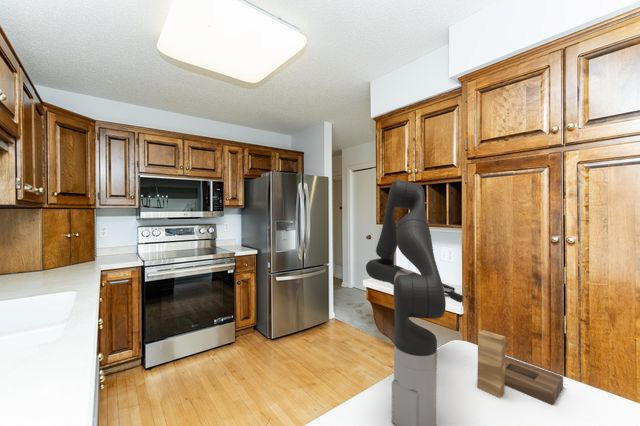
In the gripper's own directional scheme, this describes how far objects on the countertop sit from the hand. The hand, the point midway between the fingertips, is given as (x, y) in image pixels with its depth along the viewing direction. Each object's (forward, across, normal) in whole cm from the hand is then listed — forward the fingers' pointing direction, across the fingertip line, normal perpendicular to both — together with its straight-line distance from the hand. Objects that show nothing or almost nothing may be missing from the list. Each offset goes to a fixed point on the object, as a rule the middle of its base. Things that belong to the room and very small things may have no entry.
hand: (452, 302), depth 84 cm
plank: (+13, +1, +20) cm, 23 cm away
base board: (+15, +12, +20) cm, 28 cm away
